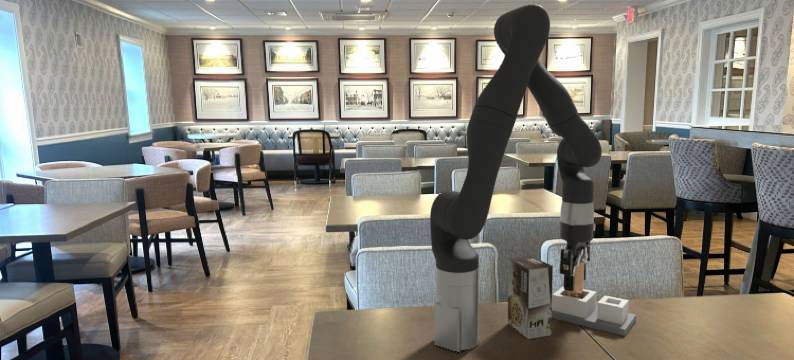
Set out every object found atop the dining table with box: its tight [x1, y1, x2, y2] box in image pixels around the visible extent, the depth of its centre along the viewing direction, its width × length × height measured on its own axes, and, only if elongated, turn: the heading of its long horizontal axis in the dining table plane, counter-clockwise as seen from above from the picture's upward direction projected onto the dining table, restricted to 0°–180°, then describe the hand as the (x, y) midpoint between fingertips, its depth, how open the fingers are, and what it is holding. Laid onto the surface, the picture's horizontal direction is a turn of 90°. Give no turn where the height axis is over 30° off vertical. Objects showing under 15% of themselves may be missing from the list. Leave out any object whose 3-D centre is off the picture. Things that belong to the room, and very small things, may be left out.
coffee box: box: [507, 255, 554, 340], centre depth 115 cm, size 9×6×16 cm
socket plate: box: [552, 285, 637, 337], centre depth 120 cm, size 10×17×6 cm, turn 52°
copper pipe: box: [566, 260, 585, 299], centre depth 122 cm, size 4×4×12 cm
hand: (574, 285), depth 122 cm, fingers open, 8 cm apart
